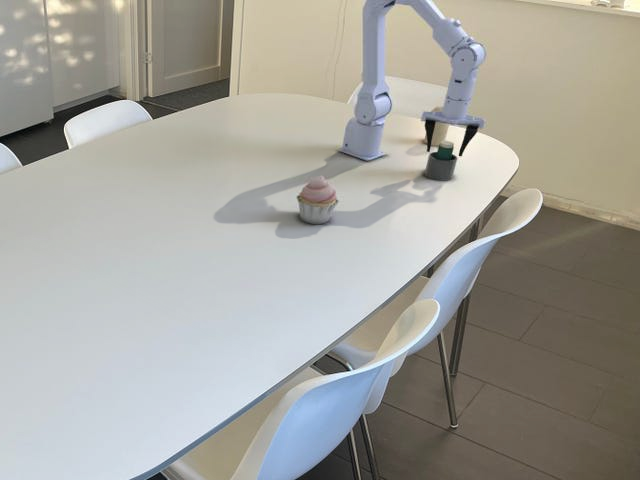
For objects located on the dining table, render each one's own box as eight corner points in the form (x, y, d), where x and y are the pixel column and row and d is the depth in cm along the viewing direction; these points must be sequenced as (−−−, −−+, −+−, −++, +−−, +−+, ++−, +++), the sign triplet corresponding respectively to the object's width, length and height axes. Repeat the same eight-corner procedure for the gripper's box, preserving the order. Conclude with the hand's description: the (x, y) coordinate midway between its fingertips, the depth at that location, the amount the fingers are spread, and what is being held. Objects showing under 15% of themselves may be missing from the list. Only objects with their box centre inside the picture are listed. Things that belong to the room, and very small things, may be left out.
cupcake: (343, 218, 164) (351, 176, 158) (320, 231, 158) (328, 187, 153) (308, 206, 169) (315, 164, 163) (285, 218, 164) (291, 175, 158)
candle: (441, 140, 209) (450, 104, 204) (446, 146, 205) (455, 110, 199) (422, 138, 210) (430, 103, 204) (426, 145, 205) (434, 109, 199)
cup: (419, 174, 187) (423, 155, 184) (434, 168, 191) (439, 149, 188) (442, 182, 183) (447, 163, 180) (457, 176, 187) (462, 157, 184)
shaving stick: (429, 173, 187) (436, 142, 182) (437, 170, 189) (444, 139, 184) (441, 177, 185) (449, 146, 180) (449, 174, 186) (457, 143, 182)
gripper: (425, 98, 175) (413, 153, 182) (490, 105, 171) (474, 162, 179) (427, 90, 180) (415, 145, 188) (490, 97, 176) (474, 153, 184)
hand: (444, 152), depth 184 cm, fingers open, 7 cm apart
